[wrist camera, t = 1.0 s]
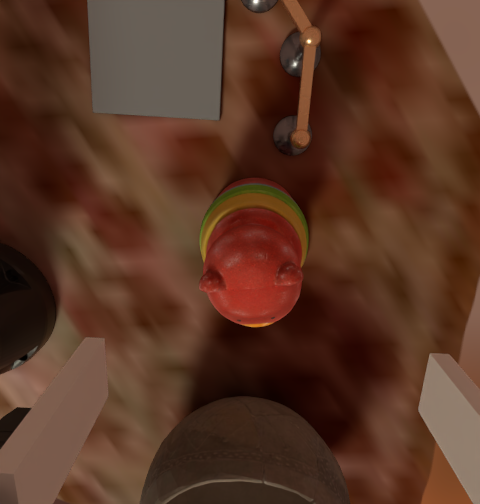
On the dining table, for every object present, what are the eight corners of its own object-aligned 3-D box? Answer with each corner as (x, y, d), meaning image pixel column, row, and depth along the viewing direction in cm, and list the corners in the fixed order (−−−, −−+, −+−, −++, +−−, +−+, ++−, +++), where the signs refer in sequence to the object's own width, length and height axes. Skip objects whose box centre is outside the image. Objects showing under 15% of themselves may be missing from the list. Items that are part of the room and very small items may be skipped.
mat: (95, 112, 39) (92, 112, 38) (88, -34, 35) (85, -36, 35) (219, 120, 39) (219, 120, 38) (225, -26, 35) (225, -29, 34)
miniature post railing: (230, 151, 39) (223, 158, 31) (240, -36, 35) (235, -86, 26) (308, 156, 39) (322, 164, 31) (329, -31, 34) (351, -80, 26)
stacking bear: (204, 271, 43) (169, 365, 26) (199, 175, 40) (158, 212, 23) (305, 271, 43) (337, 367, 26) (309, 174, 40) (347, 211, 23)
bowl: (148, 373, 47) (101, 480, 33) (326, 357, 46) (358, 462, 32) (179, 508, 54) (150, 649, 39) (337, 498, 52) (368, 641, 38)
